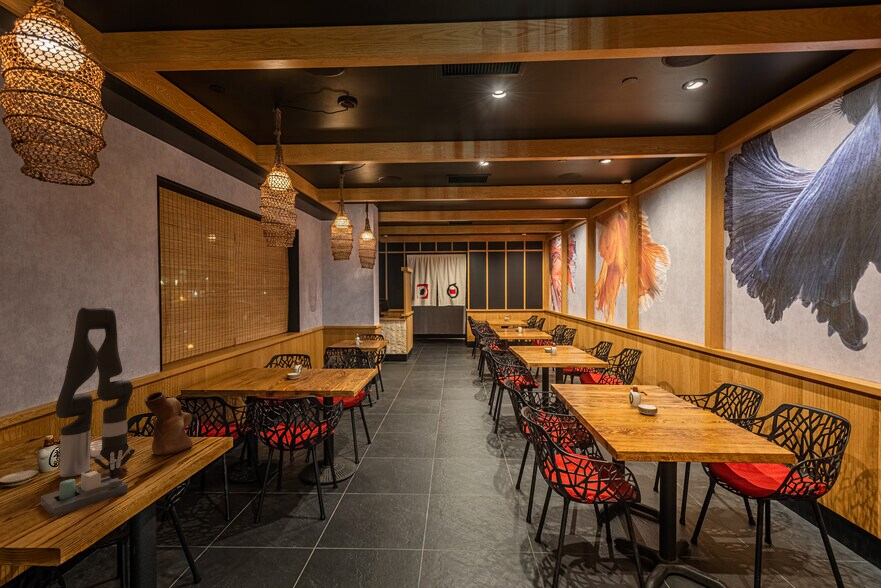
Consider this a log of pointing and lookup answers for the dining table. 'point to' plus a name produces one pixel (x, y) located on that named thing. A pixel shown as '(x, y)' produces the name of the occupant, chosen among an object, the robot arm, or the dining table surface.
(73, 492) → the peg
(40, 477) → the dining table surface
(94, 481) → the block
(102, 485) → the housing
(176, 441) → the ceramic vessel
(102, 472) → the bread roll
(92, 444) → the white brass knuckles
